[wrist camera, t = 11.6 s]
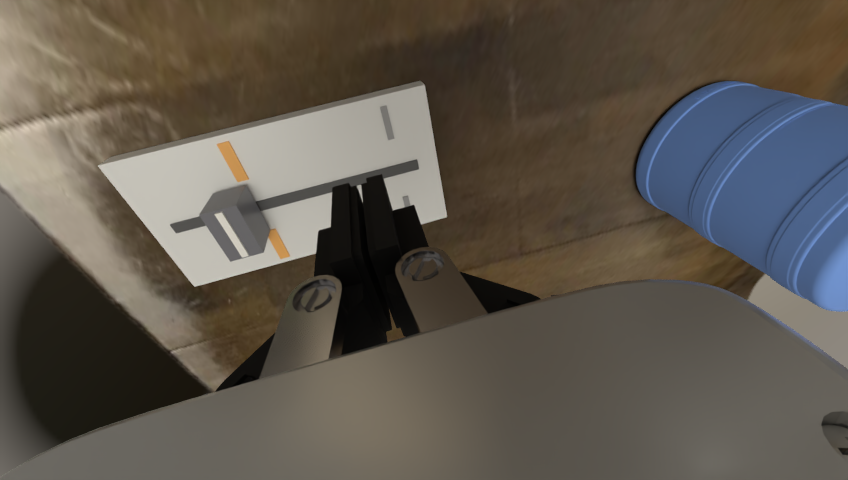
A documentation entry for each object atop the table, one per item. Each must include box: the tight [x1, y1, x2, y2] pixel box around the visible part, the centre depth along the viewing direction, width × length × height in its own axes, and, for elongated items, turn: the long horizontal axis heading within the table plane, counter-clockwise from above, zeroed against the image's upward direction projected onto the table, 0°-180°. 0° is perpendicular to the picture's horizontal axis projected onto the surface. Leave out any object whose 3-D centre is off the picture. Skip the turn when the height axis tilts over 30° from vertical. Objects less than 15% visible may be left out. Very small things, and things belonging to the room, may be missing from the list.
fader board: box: [98, 81, 447, 287], centre depth 34 cm, size 28×14×2 cm, turn 101°
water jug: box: [636, 81, 848, 311], centre depth 31 cm, size 16×16×28 cm
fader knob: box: [199, 185, 270, 262], centre depth 31 cm, size 3×5×4 cm, turn 11°
